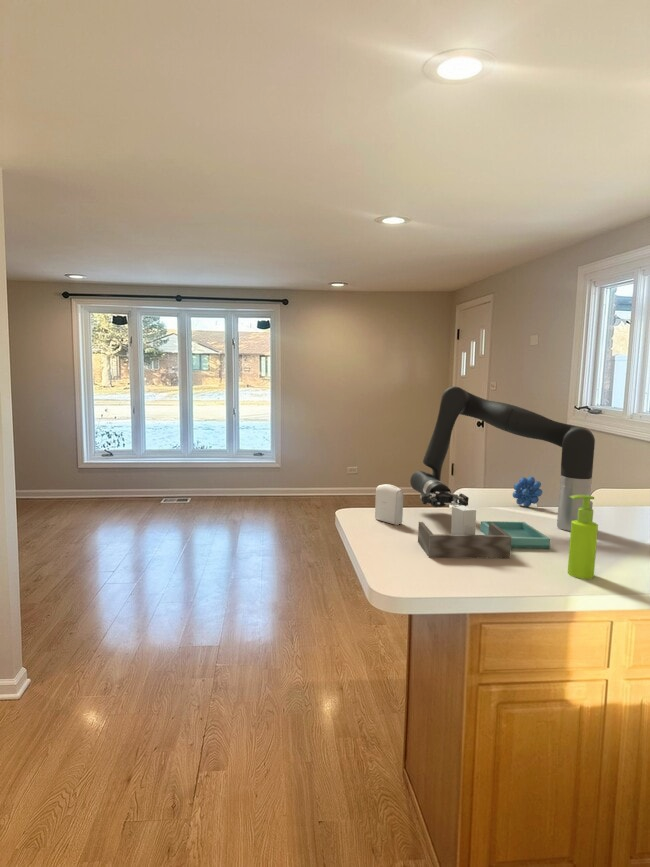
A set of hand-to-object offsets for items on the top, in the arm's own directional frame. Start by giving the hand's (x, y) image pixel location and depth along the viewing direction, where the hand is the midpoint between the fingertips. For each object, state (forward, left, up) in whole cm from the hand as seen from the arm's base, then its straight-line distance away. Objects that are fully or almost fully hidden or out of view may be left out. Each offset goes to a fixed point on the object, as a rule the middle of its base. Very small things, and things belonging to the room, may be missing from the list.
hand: (450, 504), depth 161 cm
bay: (0, +13, -10) cm, 16 cm away
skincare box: (0, +13, -10) cm, 16 cm away
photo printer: (+16, -16, -10) cm, 25 cm away
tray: (-19, +2, -10) cm, 22 cm away
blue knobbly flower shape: (-42, -41, -10) cm, 60 cm away
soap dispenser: (-24, +31, -10) cm, 40 cm away
